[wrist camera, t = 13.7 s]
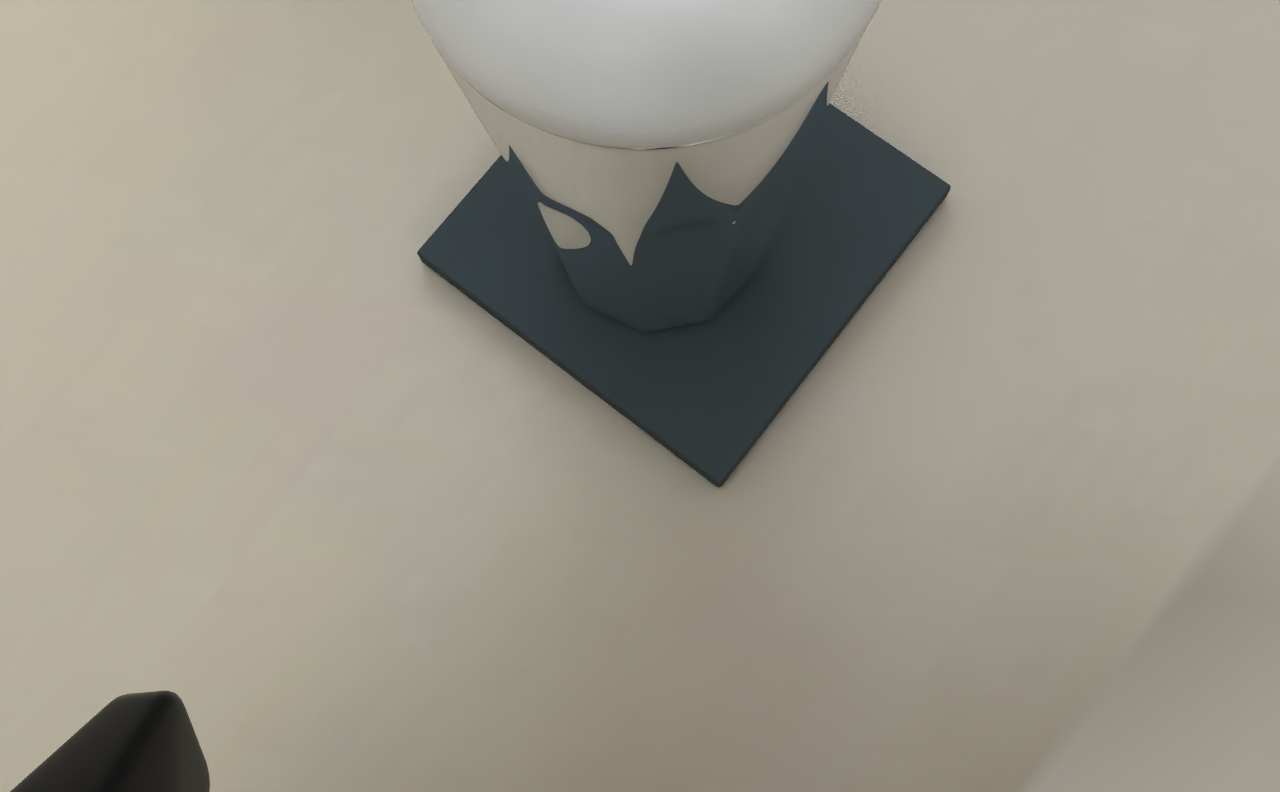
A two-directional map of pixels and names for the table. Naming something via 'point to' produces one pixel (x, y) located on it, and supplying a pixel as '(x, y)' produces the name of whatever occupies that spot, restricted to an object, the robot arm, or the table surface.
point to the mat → (740, 332)
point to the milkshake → (651, 131)
